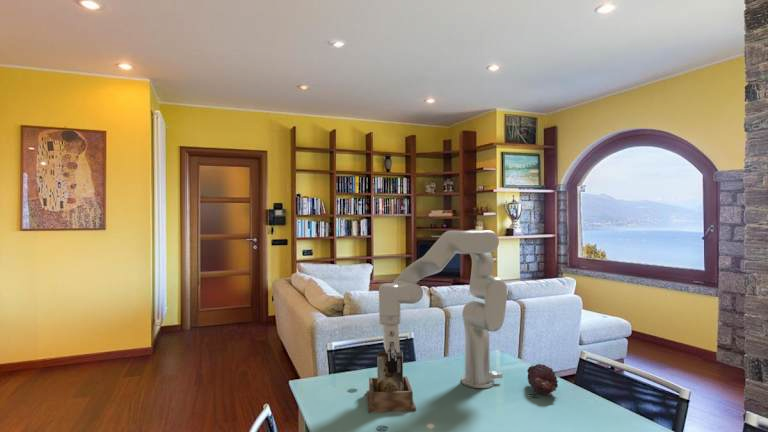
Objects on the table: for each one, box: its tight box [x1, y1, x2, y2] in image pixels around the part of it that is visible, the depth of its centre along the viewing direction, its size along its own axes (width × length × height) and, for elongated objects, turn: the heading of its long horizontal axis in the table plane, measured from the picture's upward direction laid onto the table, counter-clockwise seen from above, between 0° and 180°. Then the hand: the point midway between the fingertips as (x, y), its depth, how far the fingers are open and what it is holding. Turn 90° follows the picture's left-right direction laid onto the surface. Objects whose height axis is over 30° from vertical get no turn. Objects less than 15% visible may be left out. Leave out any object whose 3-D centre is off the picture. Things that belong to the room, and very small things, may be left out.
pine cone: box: [527, 363, 559, 396], centre depth 157 cm, size 18×10×10 cm, turn 4°
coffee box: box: [376, 350, 404, 392], centre depth 149 cm, size 9×6×16 cm
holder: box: [365, 376, 417, 414], centre depth 149 cm, size 16×16×6 cm
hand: (390, 367), depth 149 cm, fingers open, 9 cm apart
